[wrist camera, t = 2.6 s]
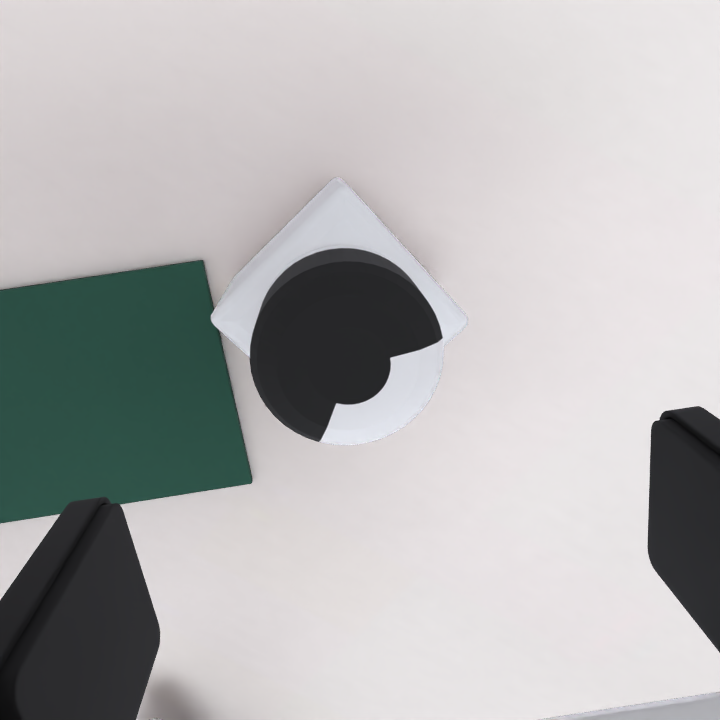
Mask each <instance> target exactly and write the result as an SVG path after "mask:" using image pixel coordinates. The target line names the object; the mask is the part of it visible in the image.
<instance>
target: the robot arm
mask: <svg viewBox="0 0 720 720" xmlns="http://www.w3.org/2000/svg"><path fill="white" fill-rule="evenodd" d="M648 554H649V558H650V561H651V564H652V566H653V568H654V569H655V571H656V572H657V573H658V575H659V576H660V577H661V579H662V580H663V581H664V582H665V584H666V585H667V586H668V587H669V589H670V590H671V591H672V592H673V594H674V595H675V596H676V598H677V599H678V600H679V601H680V603H681V604H682V605H683V606H684V608H685V609H686V610H687V611H688V613H689V614H690V615H691V617H692V618H693V619H694V620H695V622H696V623H697V624H698V625H699V627H700V628H701V629H702V630H703V632H704V633H705V634H706V636H707V637H708V638H709V639H710V641H711V642H712V643H713V644H714V646H715V647H716V648H717V649H718V651H719V652H720V419H718V418H717V417H715V416H714V415H712V414H711V413H710V412H708V411H707V410H705V409H704V408H702V407H699V406H697V407H689V408H683V409H676V410H670V411H665V412H663V413H662V415H661V417H660V420H659V421H655V422H654V423H653V425H652V429H651V455H650V488H649V520H648ZM159 644H160V628H159V624H158V620H157V617H156V614H155V611H154V608H153V604H152V601H151V598H150V595H149V592H148V588H147V585H146V582H145V579H144V576H143V573H142V569H141V566H140V563H139V560H138V557H137V554H136V550H135V547H134V544H133V541H132V538H131V535H130V531H129V528H128V525H127V522H126V519H125V516H124V512H123V510H122V507H121V506H120V505H119V504H118V503H114V504H111V502H110V500H109V499H108V498H106V497H99V498H92V499H85V500H79V501H73V502H70V503H69V504H68V505H67V506H66V507H65V509H64V510H63V512H62V513H61V514H60V516H59V517H58V519H57V520H56V522H55V523H54V524H53V526H52V527H51V529H50V530H49V532H48V533H47V534H46V536H45V537H44V539H43V540H42V542H41V543H40V544H39V546H38V547H37V549H36V550H35V552H34V553H33V554H32V556H31V557H30V559H29V560H28V562H27V563H26V564H25V566H24V567H23V569H22V570H21V572H20V573H19V574H18V576H17V577H16V579H15V580H14V582H13V583H12V584H11V586H10V587H9V589H8V590H7V592H6V593H5V594H4V596H3V597H2V599H1V600H0V720H136V717H137V714H138V711H139V708H140V705H141V702H142V699H143V695H144V692H145V689H146V686H147V683H148V680H149V677H150V674H151V670H152V667H153V664H154V661H155V658H156V655H157V652H158V648H159ZM539 720H720V692H715V693H709V694H702V695H695V696H689V697H682V698H676V699H669V700H663V701H656V702H650V703H643V704H637V705H630V706H623V707H617V708H610V709H604V710H597V711H591V712H584V713H578V714H571V715H565V716H558V717H552V718H546V719H539Z"/></svg>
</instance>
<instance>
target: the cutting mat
mask: <svg viewBox="0 0 720 720" xmlns="http://www.w3.org/2000/svg"><path fill="white" fill-rule="evenodd" d="M213 311H214V307H213V303H212V298H211V294H210V289H209V285H208V281H207V276H206V272H205V267H204V263H203V260H199V261H192V262H186V263H179V264H172V265H166V266H159V267H152V268H146V269H139V270H132V271H125V272H119V273H112V274H105V275H99V276H92V277H85V278H79V279H72V280H65V281H58V282H52V283H45V284H38V285H32V286H25V287H18V288H12V289H5V290H0V523H5V522H12V521H18V520H24V519H31V518H37V517H43V516H49V515H56V514H61V513H62V512H63V510H64V509H65V507H66V506H67V505H68V504H69V503H70V502H73V501H79V500H85V499H92V498H99V497H106V498H108V499H109V500H110V502H111V504H114V503H118V504H125V503H132V502H138V501H144V500H151V499H157V498H163V497H169V496H176V495H182V494H188V493H195V492H201V491H207V490H214V489H220V488H226V487H233V486H239V485H245V484H251V483H252V475H251V471H250V466H249V462H248V458H247V453H246V449H245V444H244V440H243V435H242V431H241V427H240V422H239V418H238V413H237V409H236V404H235V400H234V396H233V391H232V387H231V382H230V378H229V373H228V369H227V365H226V360H225V356H224V351H223V347H222V342H221V338H220V334H219V329H218V328H216V327H215V326H214V324H213V323H212V321H211V314H212V313H213Z"/></svg>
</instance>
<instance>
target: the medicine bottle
mask: <svg viewBox="0 0 720 720" xmlns="http://www.w3.org/2000/svg"><path fill="white" fill-rule="evenodd" d="M211 321H212V323H213V324H214V326H215V327H216V328H218V329H219V330H220V331H221V332H222V333H223V334H224V335H225V336H226V337H227V338H228V339H230V340H231V341H232V342H233V343H234V344H235V345H236V346H237V347H238V348H239V349H240V350H242V351H243V352H244V353H245V354H246V355H247V356H248V357H249V358H250V365H251V373H252V376H253V380H254V383H255V386H256V388H257V390H258V393H259V395H260V397H261V398H262V400H263V402H264V403H265V405H266V406H267V408H268V409H269V410H270V411H271V412H272V414H273V415H274V416H275V417H276V418H277V419H278V420H279V421H281V422H282V423H283V424H284V425H285V426H287V427H288V428H290V429H291V430H293V431H294V432H296V433H298V434H300V435H302V436H304V437H306V438H309V439H312V440H315V441H318V442H322V443H327V444H333V445H358V444H363V443H369V442H372V441H375V440H379V439H382V438H384V437H386V436H388V435H391V434H393V433H395V432H396V431H398V430H399V429H401V428H403V427H404V426H405V425H407V424H408V423H409V422H410V421H412V420H413V419H414V418H415V417H416V416H417V415H418V414H419V413H420V412H421V411H422V410H423V408H424V407H425V406H426V404H427V403H428V401H429V400H430V399H431V397H432V395H433V393H434V391H435V389H436V387H437V384H438V381H439V379H440V376H441V371H442V367H443V358H444V346H445V345H446V344H447V343H449V342H450V341H451V340H452V339H453V338H454V337H455V336H456V335H458V334H459V333H460V332H461V331H462V330H463V329H464V328H465V327H466V326H467V324H468V317H467V315H466V314H465V313H464V311H463V310H462V309H461V308H460V307H459V306H458V305H457V304H456V303H455V302H454V301H453V299H452V298H451V297H450V296H449V295H448V294H447V293H446V292H445V291H444V290H443V288H442V287H441V286H440V285H439V284H438V283H437V282H436V281H435V280H434V279H433V277H432V276H431V275H430V274H429V273H428V272H427V271H426V270H425V269H424V268H423V267H422V265H421V264H420V263H419V262H418V261H417V260H416V259H415V258H414V257H413V256H412V254H411V253H410V252H409V251H408V250H407V249H406V248H405V247H404V246H403V245H402V243H401V242H400V241H399V240H398V239H397V238H396V237H395V236H394V235H393V234H392V233H391V231H390V230H389V229H388V228H387V227H386V226H385V225H384V224H383V223H382V222H381V220H380V219H379V218H378V217H377V216H376V215H375V214H374V213H373V212H372V211H371V209H370V208H369V207H368V206H367V205H366V204H365V203H364V202H363V201H362V200H361V199H360V197H359V196H358V195H357V194H356V193H355V192H354V191H353V190H352V189H351V188H350V186H349V185H348V184H347V183H346V182H345V181H344V180H343V179H341V178H337V177H335V178H334V179H332V180H331V181H330V182H329V183H328V184H327V185H326V186H325V187H324V188H323V189H322V190H321V191H320V192H319V193H318V194H317V195H316V196H315V197H314V198H313V199H312V200H311V201H310V202H309V203H308V204H307V205H306V206H305V207H304V208H303V209H302V210H301V211H300V212H299V213H298V214H297V215H296V216H295V217H294V218H293V219H292V220H291V221H290V222H289V223H288V224H287V225H286V226H285V227H284V228H283V229H282V230H281V231H280V232H279V233H278V234H277V235H275V236H274V237H273V238H272V239H271V240H270V241H269V242H268V243H267V244H266V245H265V246H264V247H263V248H262V249H261V250H260V251H259V252H258V253H257V254H256V255H255V256H254V257H253V258H252V259H251V260H250V261H249V262H248V263H247V264H246V265H245V266H244V267H243V268H242V269H241V270H240V271H239V272H238V273H237V274H236V275H235V276H234V278H233V279H232V281H231V283H230V284H229V286H228V288H227V289H226V291H225V293H224V294H223V296H222V298H221V299H220V301H219V302H218V304H217V306H216V307H215V309H214V311H213V313H212V314H211Z"/></svg>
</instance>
